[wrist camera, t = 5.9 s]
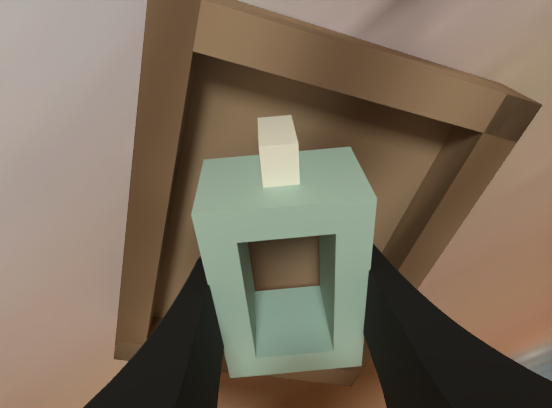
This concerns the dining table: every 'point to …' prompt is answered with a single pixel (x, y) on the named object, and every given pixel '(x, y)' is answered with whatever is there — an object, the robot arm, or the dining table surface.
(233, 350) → the green hollow block
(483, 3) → the dining table surface
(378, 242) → the tray
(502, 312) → the dining table surface
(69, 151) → the dining table surface
